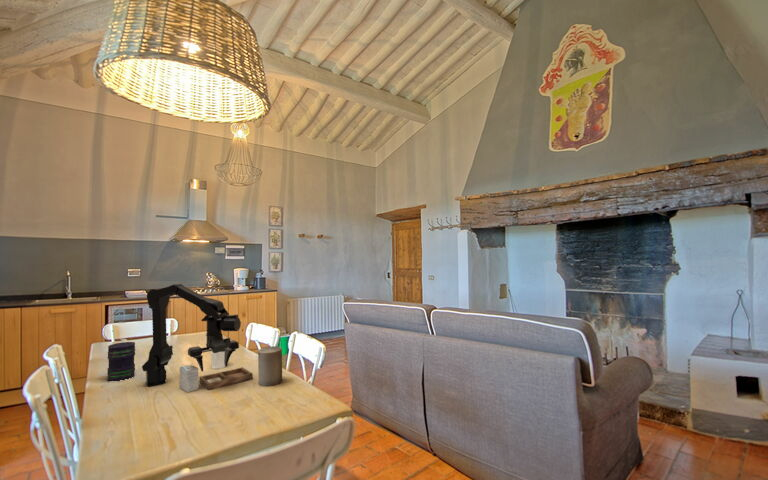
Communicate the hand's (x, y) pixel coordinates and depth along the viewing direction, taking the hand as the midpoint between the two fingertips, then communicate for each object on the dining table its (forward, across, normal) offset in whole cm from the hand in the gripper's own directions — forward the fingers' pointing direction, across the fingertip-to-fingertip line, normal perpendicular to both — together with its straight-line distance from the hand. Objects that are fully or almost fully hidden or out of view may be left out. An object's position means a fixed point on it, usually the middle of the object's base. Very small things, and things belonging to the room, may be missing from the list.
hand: (214, 368), depth 147 cm
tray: (+6, +5, 0) cm, 8 cm away
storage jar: (+6, -28, +37) cm, 47 cm away
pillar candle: (+6, +18, -15) cm, 24 cm away
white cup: (+6, +9, +23) cm, 26 cm away
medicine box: (+6, -9, +1) cm, 11 cm away
